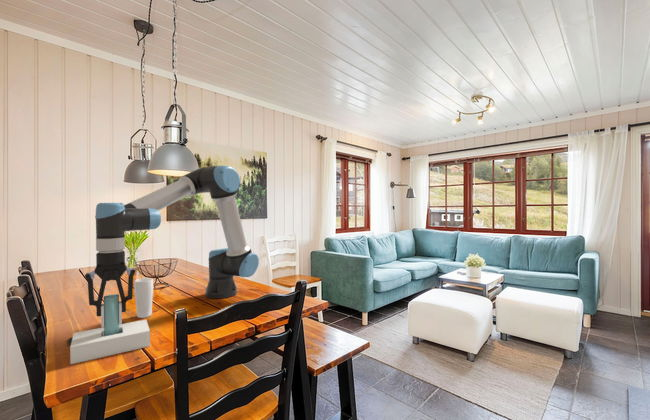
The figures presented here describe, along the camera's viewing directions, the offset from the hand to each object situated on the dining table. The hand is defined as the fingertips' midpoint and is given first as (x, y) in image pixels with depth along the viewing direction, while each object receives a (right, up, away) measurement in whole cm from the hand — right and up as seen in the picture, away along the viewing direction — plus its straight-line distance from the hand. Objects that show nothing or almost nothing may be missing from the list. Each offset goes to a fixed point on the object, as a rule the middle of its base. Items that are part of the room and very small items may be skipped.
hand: (111, 323), depth 100 cm
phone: (-11, -8, +8) cm, 16 cm away
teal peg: (0, -5, 0) cm, 5 cm away
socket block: (0, -8, 0) cm, 8 cm away
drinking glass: (-6, -7, +28) cm, 29 cm away
